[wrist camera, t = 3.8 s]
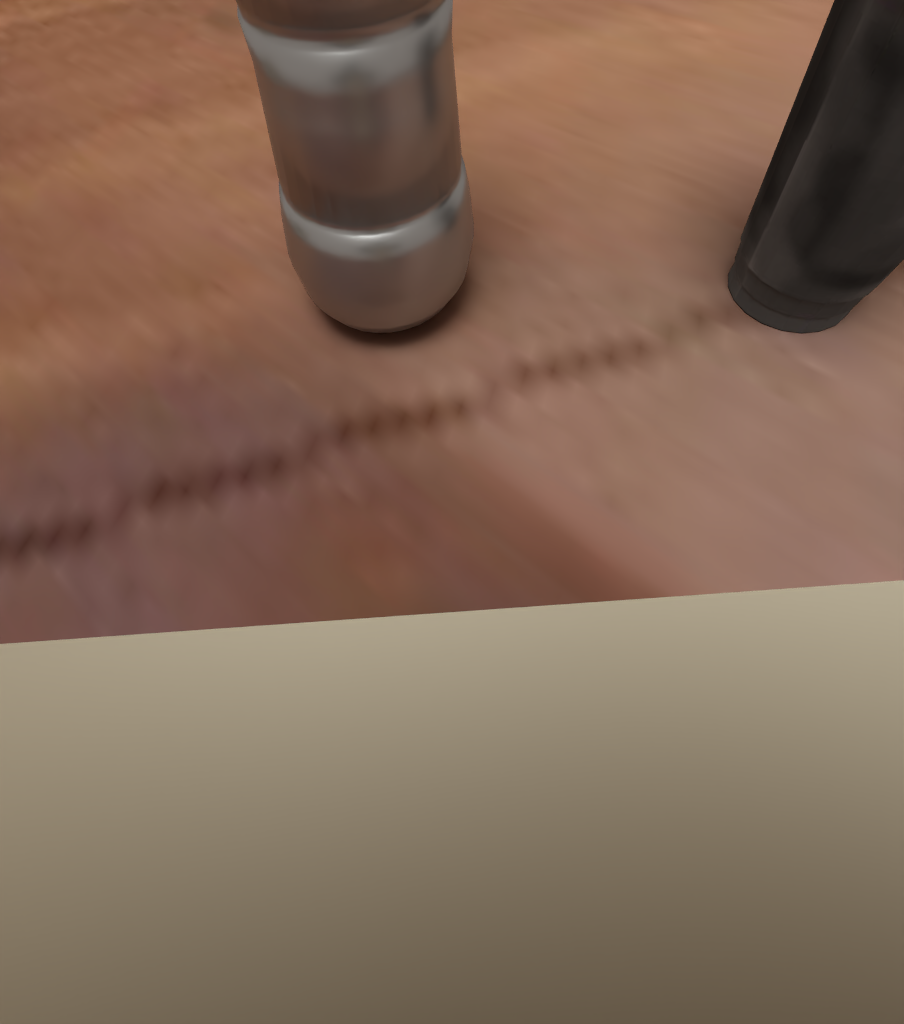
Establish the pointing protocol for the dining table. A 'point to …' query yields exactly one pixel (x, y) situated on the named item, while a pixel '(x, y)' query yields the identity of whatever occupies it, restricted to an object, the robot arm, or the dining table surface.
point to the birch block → (463, 817)
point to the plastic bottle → (366, 152)
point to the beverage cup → (832, 179)
